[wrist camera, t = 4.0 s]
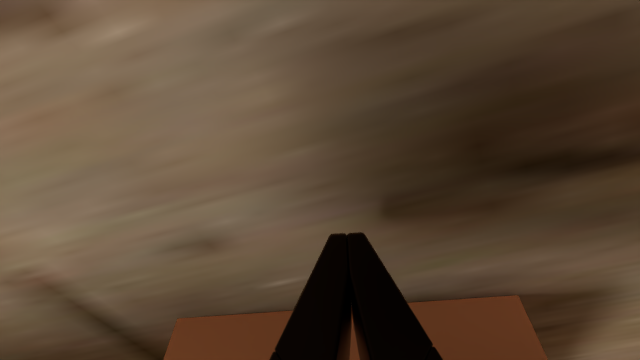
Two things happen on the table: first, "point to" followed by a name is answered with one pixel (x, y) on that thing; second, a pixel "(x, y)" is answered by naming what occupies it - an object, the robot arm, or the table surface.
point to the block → (435, 317)
